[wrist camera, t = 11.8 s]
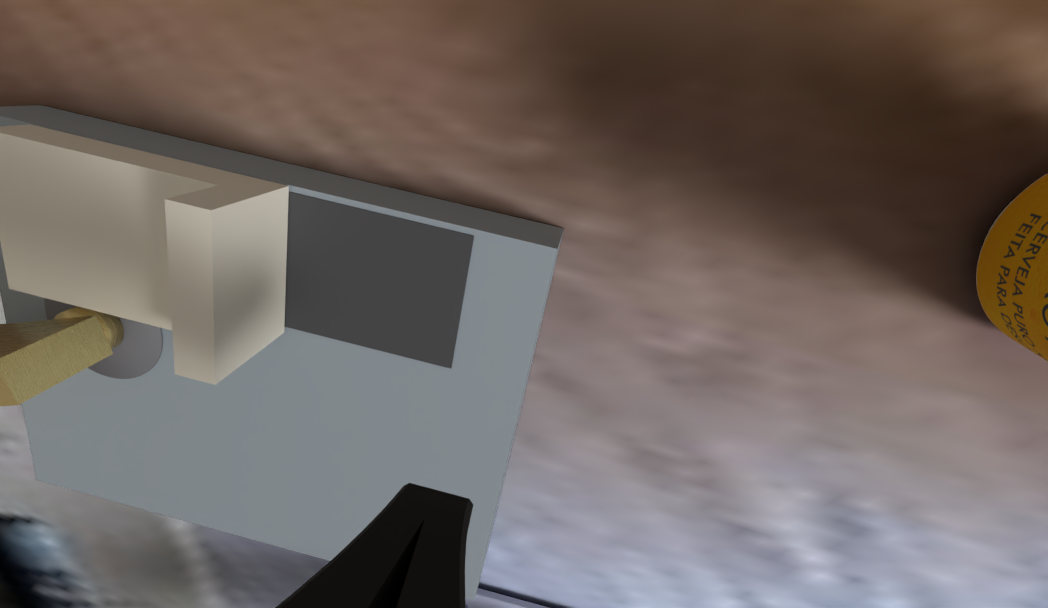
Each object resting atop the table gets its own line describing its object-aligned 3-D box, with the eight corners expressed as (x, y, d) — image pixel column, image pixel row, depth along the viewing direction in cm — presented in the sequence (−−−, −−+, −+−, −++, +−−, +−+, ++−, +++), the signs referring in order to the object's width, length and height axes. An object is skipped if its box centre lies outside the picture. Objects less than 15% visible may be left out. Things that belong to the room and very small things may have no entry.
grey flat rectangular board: (487, 551, 24) (473, 603, 22) (88, 444, 25) (34, 481, 23) (564, 228, 18) (557, 249, 16) (41, 105, 19) (-39, 108, 17)
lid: (284, 332, 18) (215, 384, 15) (52, 273, 19) (-62, 312, 16) (288, 185, 16) (211, 210, 13) (30, 124, 17) (-106, 133, 14)
